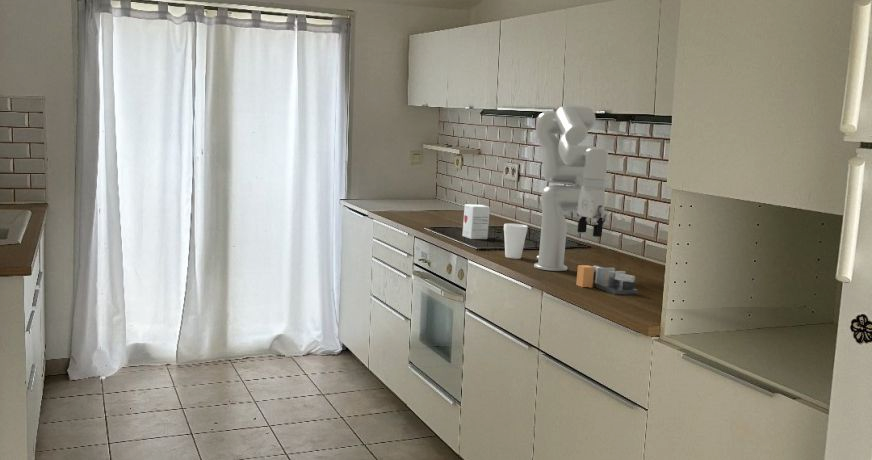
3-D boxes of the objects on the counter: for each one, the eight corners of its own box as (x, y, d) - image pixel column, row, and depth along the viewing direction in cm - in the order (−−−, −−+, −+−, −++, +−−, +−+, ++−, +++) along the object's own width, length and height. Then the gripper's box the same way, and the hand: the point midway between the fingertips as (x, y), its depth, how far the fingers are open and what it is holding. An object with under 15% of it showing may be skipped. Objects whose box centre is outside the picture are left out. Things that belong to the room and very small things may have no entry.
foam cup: (523, 259, 358) (526, 227, 357) (500, 257, 360) (502, 225, 358) (525, 256, 367) (528, 225, 366) (503, 254, 369) (505, 222, 368)
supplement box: (461, 236, 416) (463, 203, 414) (478, 236, 420) (481, 204, 418) (470, 239, 408) (473, 206, 406) (488, 239, 412) (490, 206, 410)
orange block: (576, 285, 311) (578, 265, 310) (586, 285, 312) (587, 265, 311) (582, 287, 307) (584, 267, 306) (592, 287, 309) (594, 267, 308)
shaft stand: (582, 282, 316) (584, 264, 316) (604, 282, 320) (605, 264, 319) (614, 294, 298) (616, 275, 297) (637, 294, 302) (639, 275, 301)
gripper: (571, 181, 312) (566, 230, 314) (598, 186, 296) (593, 238, 298) (589, 182, 315) (585, 230, 317) (617, 187, 299) (612, 238, 301)
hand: (589, 234), depth 307 cm, fingers open, 9 cm apart
